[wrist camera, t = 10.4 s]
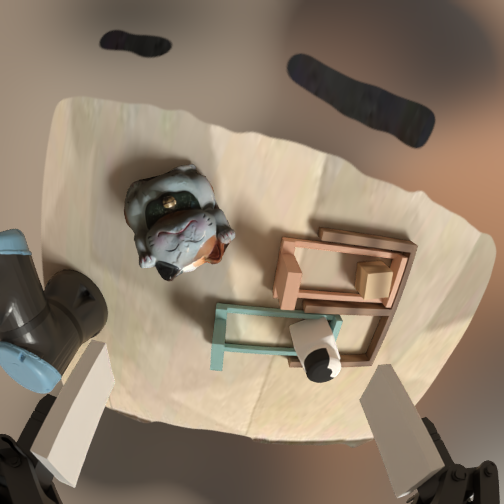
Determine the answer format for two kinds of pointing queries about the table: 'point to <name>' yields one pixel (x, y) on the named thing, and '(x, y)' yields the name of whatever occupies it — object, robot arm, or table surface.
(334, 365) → the medicine bottle
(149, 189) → the lucky cat figurine
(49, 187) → the table surface
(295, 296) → the sled
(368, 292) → the oak cube
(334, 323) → the frame
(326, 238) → the lane rails
